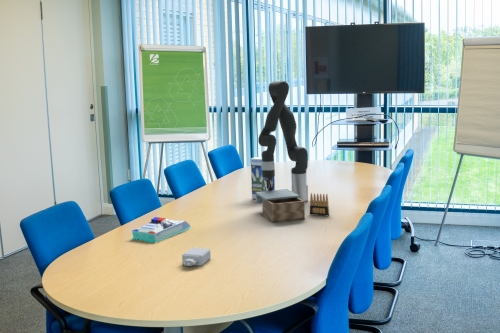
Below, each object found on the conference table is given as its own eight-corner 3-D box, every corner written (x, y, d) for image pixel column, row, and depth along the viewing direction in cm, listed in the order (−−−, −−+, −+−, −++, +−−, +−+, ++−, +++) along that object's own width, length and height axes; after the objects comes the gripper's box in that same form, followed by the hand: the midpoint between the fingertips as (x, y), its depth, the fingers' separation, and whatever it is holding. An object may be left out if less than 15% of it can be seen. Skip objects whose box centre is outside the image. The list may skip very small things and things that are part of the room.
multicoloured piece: (128, 240, 284) (127, 223, 283) (166, 225, 310) (165, 209, 308) (155, 244, 276) (154, 226, 274) (192, 228, 301) (191, 212, 300)
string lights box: (251, 198, 365) (250, 158, 361) (257, 196, 372) (255, 156, 368) (270, 200, 359) (269, 159, 355) (275, 197, 366) (274, 157, 362)
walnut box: (293, 212, 327) (292, 194, 325) (304, 219, 310) (304, 201, 308) (262, 215, 322) (262, 197, 320) (273, 222, 305) (272, 204, 303)
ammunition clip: (329, 215, 317) (328, 193, 315) (328, 215, 315) (327, 194, 313) (310, 213, 322) (310, 192, 320) (309, 214, 320) (309, 193, 318)
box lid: (287, 199, 336) (286, 189, 335) (299, 206, 318) (299, 195, 317) (255, 202, 331) (255, 192, 330) (266, 209, 312) (266, 198, 311)
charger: (176, 269, 238) (191, 258, 252) (196, 271, 235) (210, 259, 249) (175, 258, 237) (190, 247, 251) (196, 259, 234) (210, 248, 248)
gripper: (277, 169, 330) (278, 199, 332) (270, 166, 342) (271, 195, 345) (265, 170, 328) (266, 200, 330) (258, 167, 340) (259, 196, 343)
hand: (269, 197), depth 338 cm, fingers closed
